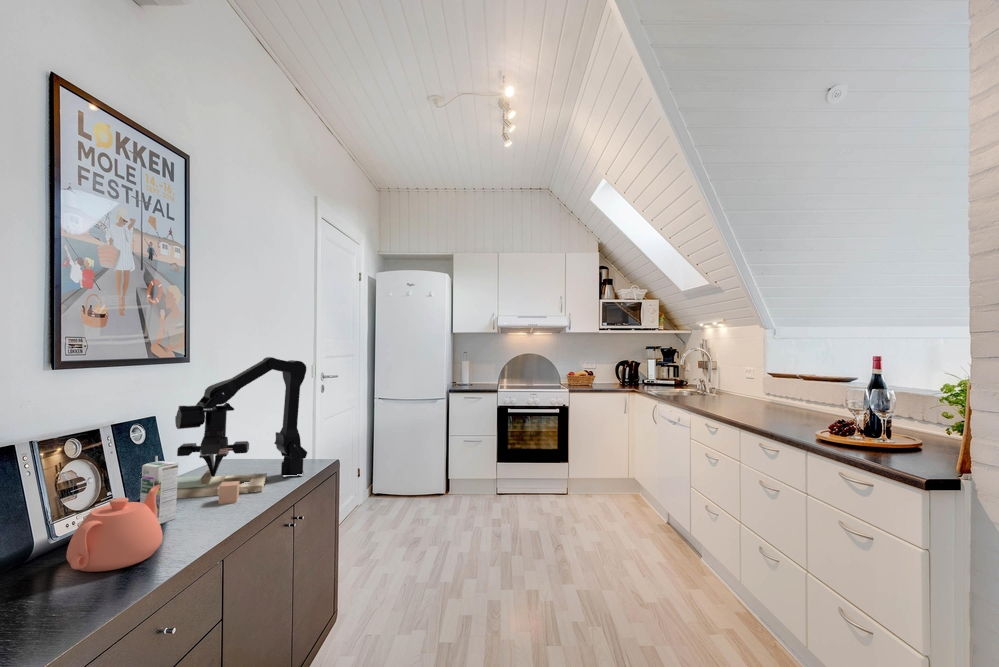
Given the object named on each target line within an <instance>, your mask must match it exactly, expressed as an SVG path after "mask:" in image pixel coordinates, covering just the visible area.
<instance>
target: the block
mask: <svg viewBox="0 0 999 667" xmlns="http://www.w3.org/2000/svg"><path fill="white" fill-rule="evenodd" d="M239 482H240V481H232V482H222V483H221V485H220V486H219V495H218V505H225V504H235V502H238V501H237V500H239V499H240V494H239ZM238 498H239V499H238Z"/></svg>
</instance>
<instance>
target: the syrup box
mask: <svg viewBox="0 0 999 667" xmlns="http://www.w3.org/2000/svg"><path fill="white" fill-rule="evenodd" d="M179 465H180V464H179V462H171V461H165V460H164V461H163V460H161V461H160V460H158V462H155V461H153V462H149V463H145V464H143V465H142V466H141V473H142V478H141V479H140V498H139V499H140V500H139V502H140V503H145V500H146V497H147V495H148V493H149V491H150V490H151V489H152V488H153V487H154V486H156V485H160V488H159V490H158V492H157V495H156V506H157V519H158V521H159V523H160V525H161V524H165V523H168V522H170V521H172V520H175V519H176V513H177V512H176V511H177V500H178V498H177V482H178V477H179Z"/></svg>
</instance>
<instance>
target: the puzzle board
mask: <svg viewBox="0 0 999 667" xmlns="http://www.w3.org/2000/svg"><path fill="white" fill-rule="evenodd" d="M266 478H268V474H267V472H266V473H265V472H264V473H253V474H252V473H250V474H249V473H248V474H234V475H233V474H231V475H219V476H218V475H215V476H214V477H213V478H212V480H211V481H210V482H209V484H208V485H207V486H206V487H191V488H177V499H185V498H186V497H187V498H199V497H200V498H201V497H212V496H214V495H215V496H219V486H220V485H221V483H222V482H232V481H240V482H239V493H243V494H245V493H244V492H255V491H262V490H264V488H263V487H265V485H266V482H265V481H267V480H266ZM244 482H250V483H248V484H242V483H244ZM264 484H265V485H264ZM262 492H263V491H262ZM215 496H214V497H215ZM187 498H186V499H187Z"/></svg>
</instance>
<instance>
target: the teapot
mask: <svg viewBox="0 0 999 667" xmlns="http://www.w3.org/2000/svg"><path fill="white" fill-rule="evenodd" d="M159 488H160V485H156V486H154V487H153V488H152V489H151V490H150V491H149V493H148V495H147V497H146V500H145V503H140V501H129V498H128V497H116V498H113V499H111V500H109V504H106V505H102V506H100V507H97V508H95V509H92V510H91V511H90V512H89V513H88V514H87V515H86V516H85V517H84V519H83V520H82V522H81V523H80V524H79V525H78V526H77V528H76V530H75V531H74V533H73V535H72V536H71V539H70V542H69V544H68V546H67V548H66V549H67V550H66V560H67V562H68V563H69V564H70V567H71V569H72V570H79V571H82V572H89V573H93V572H95V573H98V572H108V571H113V570H118V569H123V568H127V567H130V566H133V565H136V564H139V563H141V562H143V561H145V560H146V559H148V558H150V557H152V555H154V553H155V552H156V551H157V550H158V549H159V547H160V546H161V545H162V543H163V531H162V530H163V529H162V526H161V524H160V523H159V521H158V519H157V506H156V495H157V492H158V490H159Z"/></svg>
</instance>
